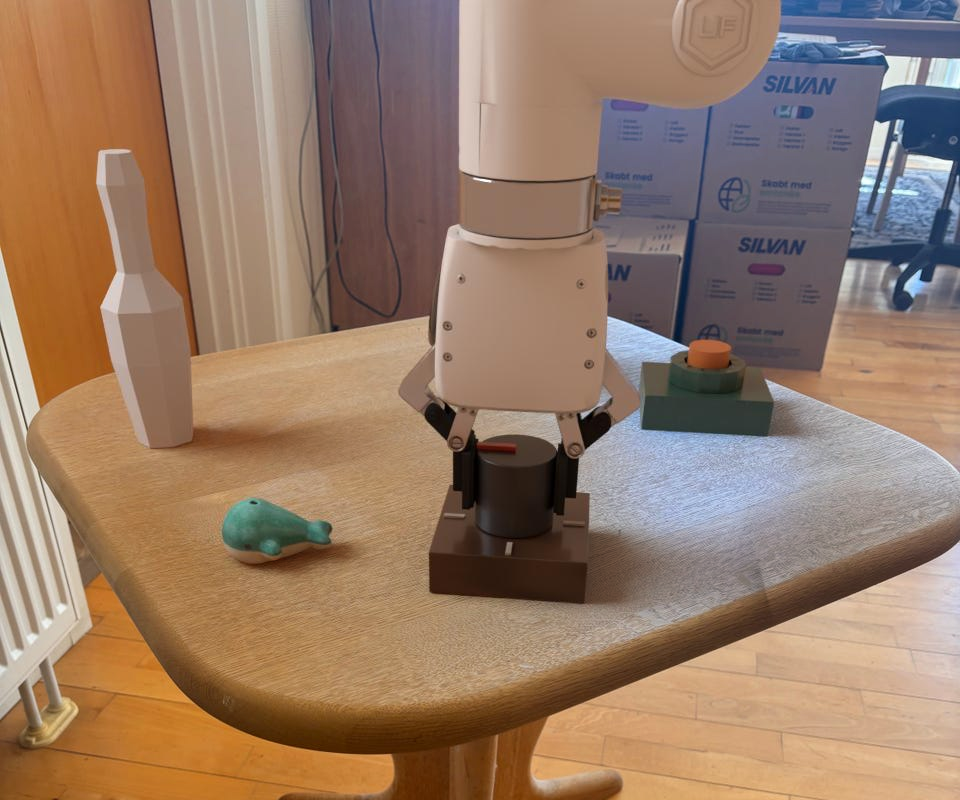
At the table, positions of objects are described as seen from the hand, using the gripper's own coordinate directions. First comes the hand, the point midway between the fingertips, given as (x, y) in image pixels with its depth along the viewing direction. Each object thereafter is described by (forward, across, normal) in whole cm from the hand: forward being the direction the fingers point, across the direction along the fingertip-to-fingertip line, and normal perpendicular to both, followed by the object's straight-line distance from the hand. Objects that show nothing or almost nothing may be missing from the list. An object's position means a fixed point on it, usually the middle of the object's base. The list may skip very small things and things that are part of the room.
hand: (514, 500), depth 64 cm
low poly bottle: (+5, +31, -17) cm, 36 cm away
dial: (+1, 0, 0) cm, 1 cm away
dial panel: (+4, 0, 0) cm, 4 cm away
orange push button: (0, -15, -29) cm, 33 cm away
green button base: (+4, -15, -29) cm, 33 cm away
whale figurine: (+5, +16, +1) cm, 17 cm away
